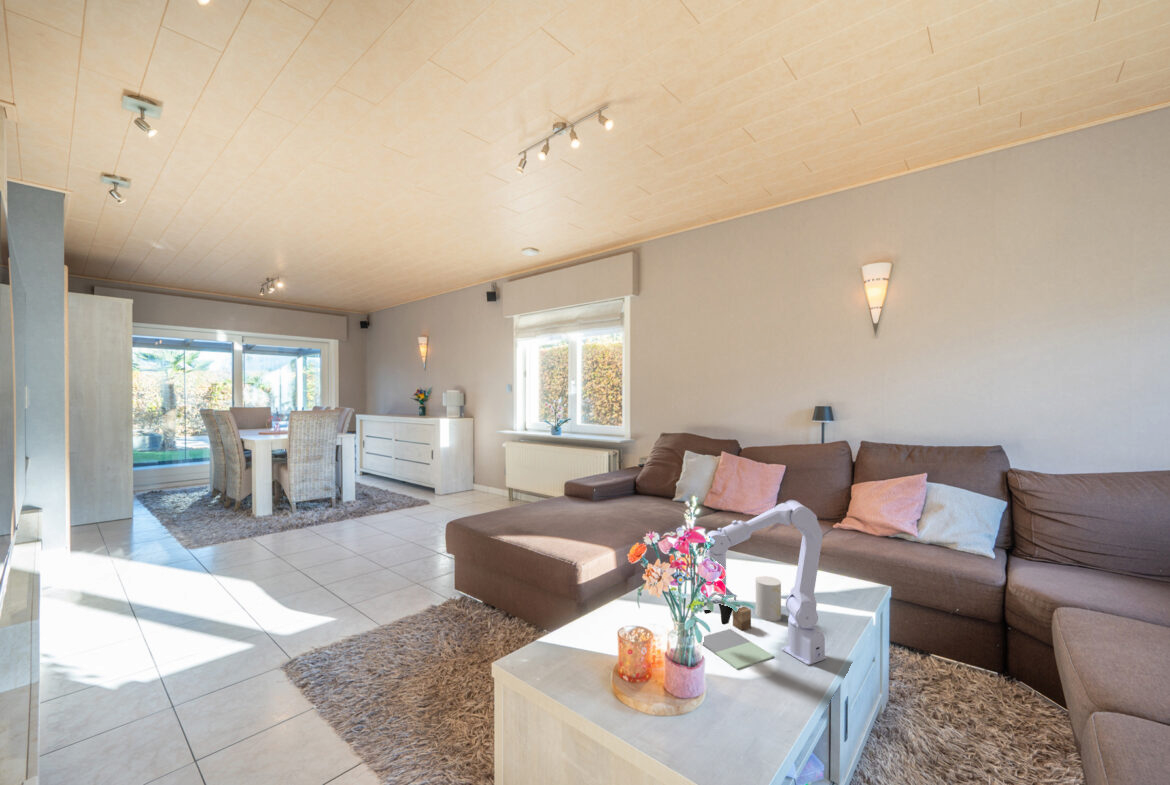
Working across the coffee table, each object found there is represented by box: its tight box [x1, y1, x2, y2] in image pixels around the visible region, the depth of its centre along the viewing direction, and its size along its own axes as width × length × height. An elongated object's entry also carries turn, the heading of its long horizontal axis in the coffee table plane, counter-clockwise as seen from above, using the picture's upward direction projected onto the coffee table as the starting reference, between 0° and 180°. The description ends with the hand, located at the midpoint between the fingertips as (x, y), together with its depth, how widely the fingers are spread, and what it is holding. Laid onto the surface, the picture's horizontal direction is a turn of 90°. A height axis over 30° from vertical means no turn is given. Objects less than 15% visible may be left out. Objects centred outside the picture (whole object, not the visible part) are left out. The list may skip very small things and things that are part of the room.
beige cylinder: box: [755, 575, 782, 622], centre depth 166 cm, size 8×8×12 cm
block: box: [732, 606, 752, 632], centre depth 158 cm, size 4×4×6 cm
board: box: [702, 628, 775, 670], centre depth 144 cm, size 18×14×1 cm
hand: (716, 618), depth 144 cm, fingers open, 7 cm apart
